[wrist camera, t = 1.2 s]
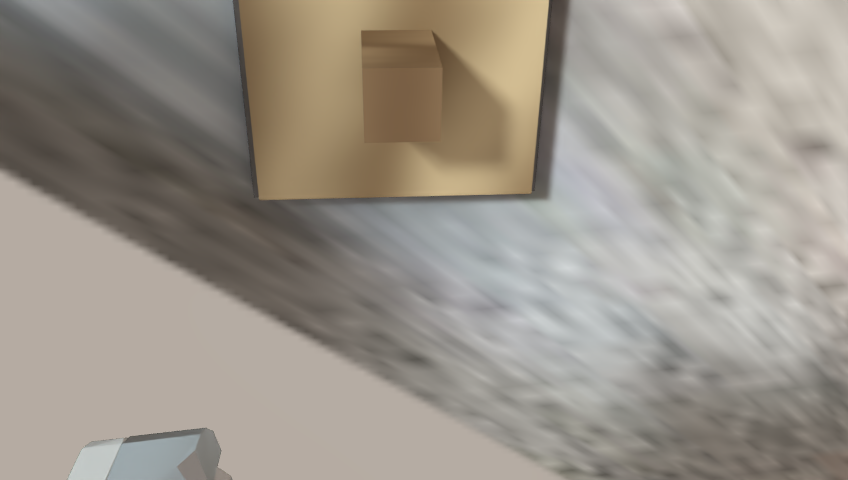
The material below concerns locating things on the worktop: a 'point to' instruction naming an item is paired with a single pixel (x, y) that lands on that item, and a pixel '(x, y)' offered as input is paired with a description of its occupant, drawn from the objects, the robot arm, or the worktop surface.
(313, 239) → the worktop surface
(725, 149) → the worktop surface
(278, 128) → the lid
